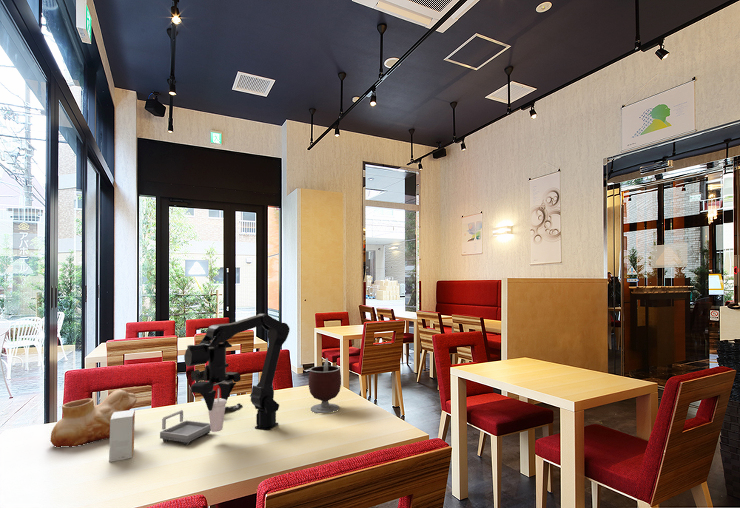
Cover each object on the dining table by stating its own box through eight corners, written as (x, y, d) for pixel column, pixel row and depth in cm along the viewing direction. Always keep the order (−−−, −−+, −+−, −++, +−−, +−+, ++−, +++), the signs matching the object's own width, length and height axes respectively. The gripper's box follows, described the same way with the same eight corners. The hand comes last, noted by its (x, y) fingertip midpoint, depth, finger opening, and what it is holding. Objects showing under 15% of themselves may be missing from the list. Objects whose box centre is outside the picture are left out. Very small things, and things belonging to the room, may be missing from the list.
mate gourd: (339, 414, 167) (339, 364, 169) (306, 414, 168) (305, 365, 169) (342, 403, 183) (342, 357, 184) (312, 403, 183) (311, 358, 184)
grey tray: (212, 433, 148) (212, 411, 149) (187, 446, 137) (187, 422, 138) (184, 429, 153) (184, 408, 153) (157, 441, 141) (158, 418, 142)
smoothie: (219, 433, 137) (220, 391, 138) (202, 432, 138) (203, 390, 139) (230, 426, 143) (230, 386, 144) (213, 425, 144) (213, 385, 145)
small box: (132, 458, 129) (133, 416, 129) (108, 462, 126) (109, 419, 127) (134, 448, 136) (135, 409, 137) (112, 452, 133) (112, 411, 134)
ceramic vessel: (142, 431, 152) (142, 390, 153) (54, 453, 133) (55, 406, 134) (129, 422, 162) (130, 384, 163) (46, 442, 142) (47, 398, 143)
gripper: (216, 355, 154) (216, 397, 153) (178, 365, 136) (177, 413, 135) (241, 357, 150) (241, 400, 149) (205, 367, 132) (204, 417, 131)
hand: (216, 407), depth 141 cm, fingers closed on smoothie, 6 cm apart
